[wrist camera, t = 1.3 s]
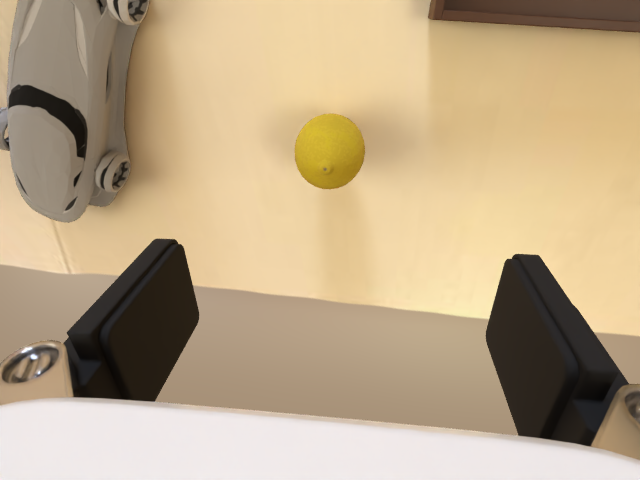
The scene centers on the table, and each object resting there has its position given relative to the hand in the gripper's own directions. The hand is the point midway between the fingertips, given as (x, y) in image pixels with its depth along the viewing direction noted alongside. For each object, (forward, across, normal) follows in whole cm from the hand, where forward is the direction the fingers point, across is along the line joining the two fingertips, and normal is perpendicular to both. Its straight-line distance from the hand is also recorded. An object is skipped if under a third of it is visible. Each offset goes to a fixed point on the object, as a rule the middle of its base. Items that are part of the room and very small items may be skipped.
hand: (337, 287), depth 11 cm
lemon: (+25, +2, +2) cm, 25 cm away
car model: (+25, +25, -1) cm, 35 cm away
